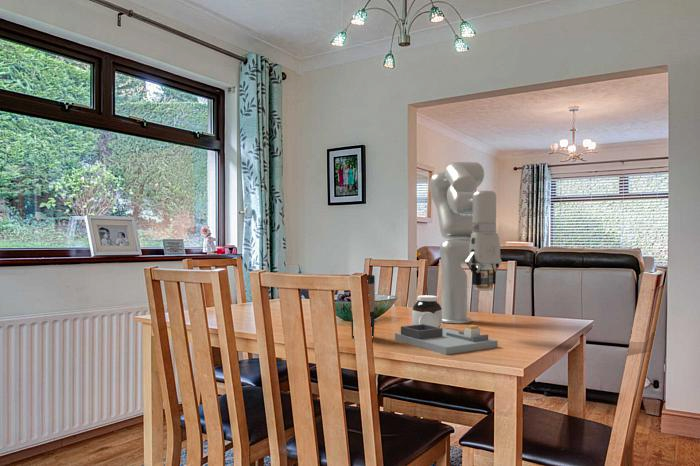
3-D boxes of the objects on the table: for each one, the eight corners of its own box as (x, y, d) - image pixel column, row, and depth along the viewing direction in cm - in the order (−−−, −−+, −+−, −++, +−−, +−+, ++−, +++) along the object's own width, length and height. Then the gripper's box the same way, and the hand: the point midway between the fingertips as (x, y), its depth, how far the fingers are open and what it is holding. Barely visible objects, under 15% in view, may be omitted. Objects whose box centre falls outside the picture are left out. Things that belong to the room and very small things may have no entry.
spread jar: (430, 326, 191) (430, 294, 191) (452, 331, 181) (452, 297, 182) (404, 329, 185) (404, 296, 185) (425, 334, 175) (426, 299, 175)
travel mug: (379, 337, 169) (379, 275, 169) (362, 340, 164) (362, 276, 164) (362, 334, 175) (363, 274, 175) (346, 337, 169) (346, 275, 170)
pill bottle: (493, 291, 167) (493, 260, 167) (475, 291, 169) (475, 260, 169) (492, 289, 173) (492, 259, 173) (474, 289, 174) (474, 259, 174)
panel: (395, 339, 166) (395, 325, 166) (443, 333, 176) (443, 320, 176) (445, 354, 145) (445, 338, 145) (497, 347, 156) (497, 331, 156)
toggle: (463, 337, 158) (463, 325, 158) (472, 336, 160) (472, 324, 160) (471, 339, 155) (471, 327, 155) (479, 338, 157) (479, 326, 157)
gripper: (473, 228, 163) (472, 286, 163) (511, 229, 172) (511, 284, 172) (456, 228, 170) (456, 284, 170) (494, 229, 179) (494, 282, 179)
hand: (483, 283), depth 171 cm, fingers closed on pill bottle, 5 cm apart
